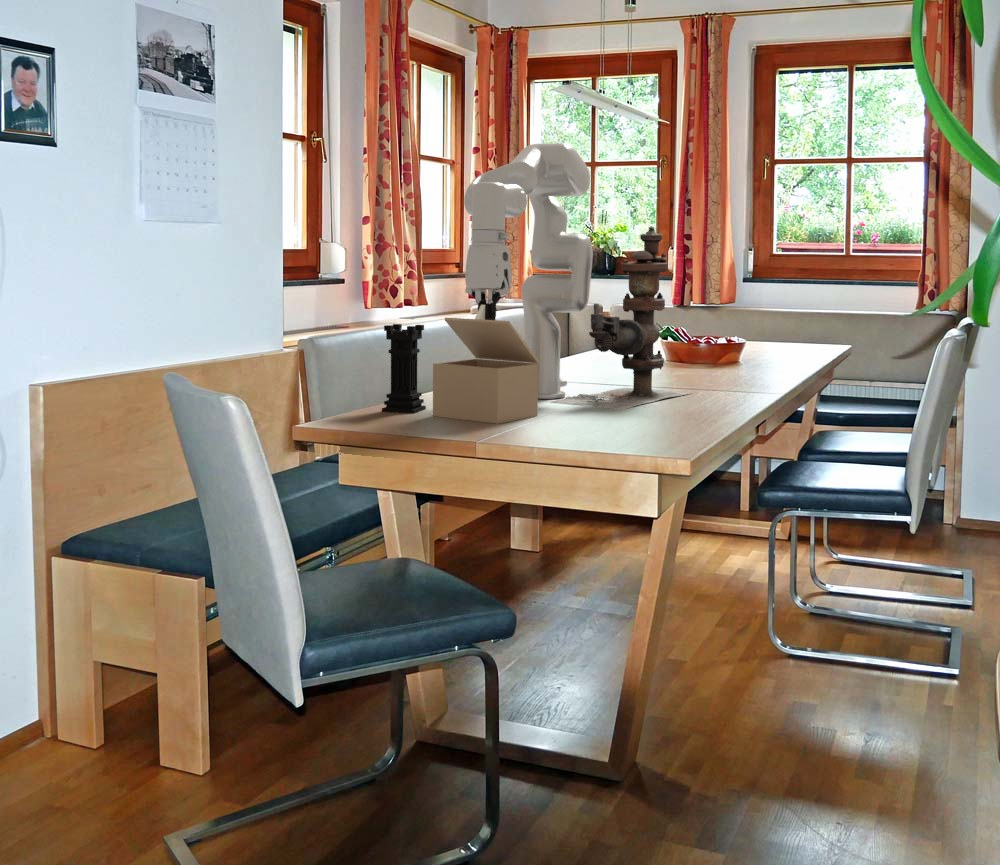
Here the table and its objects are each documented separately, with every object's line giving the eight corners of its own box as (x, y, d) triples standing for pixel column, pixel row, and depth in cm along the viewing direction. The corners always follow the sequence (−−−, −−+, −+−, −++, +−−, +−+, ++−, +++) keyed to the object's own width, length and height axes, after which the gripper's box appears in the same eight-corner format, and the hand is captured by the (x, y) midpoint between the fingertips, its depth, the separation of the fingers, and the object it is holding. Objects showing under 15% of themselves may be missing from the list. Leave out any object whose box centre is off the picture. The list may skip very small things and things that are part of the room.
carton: (474, 408, 267) (474, 358, 265) (537, 415, 257) (538, 363, 255) (432, 416, 254) (433, 363, 252) (497, 423, 244) (498, 369, 242)
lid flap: (476, 358, 265) (483, 342, 267) (538, 363, 255) (545, 346, 257) (444, 319, 254) (452, 303, 255) (508, 323, 244) (515, 306, 245)
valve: (621, 411, 270) (632, 222, 263) (550, 402, 282) (558, 220, 274) (693, 395, 305) (704, 228, 298) (627, 388, 316) (636, 226, 309)
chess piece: (425, 409, 265) (426, 324, 262) (414, 413, 258) (414, 326, 255) (394, 407, 268) (394, 323, 264) (381, 411, 260) (381, 325, 257)
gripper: (526, 239, 248) (524, 322, 251) (470, 239, 257) (469, 319, 260) (507, 238, 242) (505, 323, 245) (450, 238, 251) (449, 320, 253)
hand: (486, 320), depth 252 cm, fingers closed
